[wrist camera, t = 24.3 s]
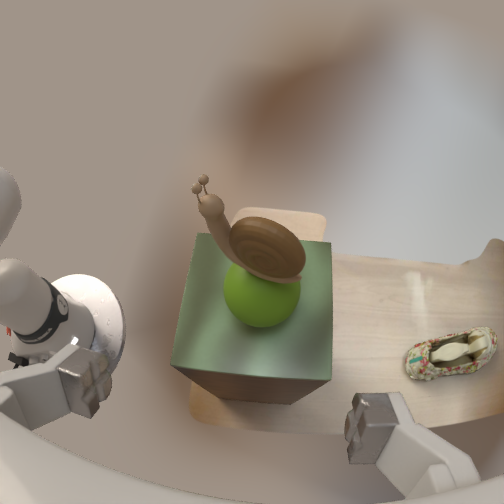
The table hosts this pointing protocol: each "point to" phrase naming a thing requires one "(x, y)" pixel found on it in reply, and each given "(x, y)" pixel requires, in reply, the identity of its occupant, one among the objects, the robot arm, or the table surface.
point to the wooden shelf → (255, 333)
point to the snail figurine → (255, 263)
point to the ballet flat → (452, 354)
